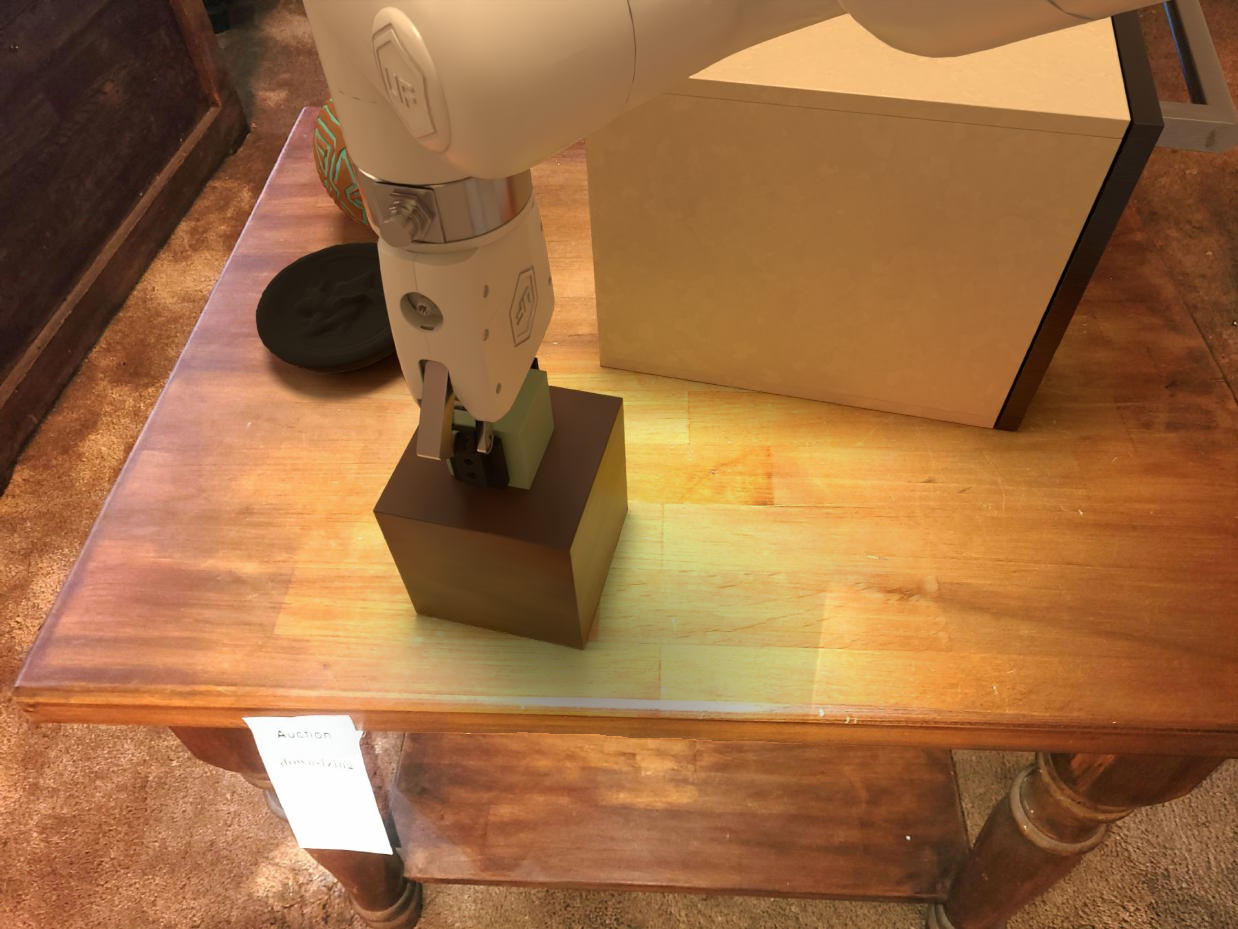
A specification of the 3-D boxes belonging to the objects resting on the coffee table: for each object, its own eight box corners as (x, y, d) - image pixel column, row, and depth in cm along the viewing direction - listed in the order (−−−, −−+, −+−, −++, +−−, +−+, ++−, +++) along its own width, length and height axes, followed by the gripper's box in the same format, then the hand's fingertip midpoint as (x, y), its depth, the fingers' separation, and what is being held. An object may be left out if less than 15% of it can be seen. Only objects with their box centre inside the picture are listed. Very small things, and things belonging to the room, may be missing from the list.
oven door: (1069, 159, 91) (1183, -124, 72) (1099, 444, 67) (1285, 136, 47) (993, 151, 93) (1084, -129, 73) (996, 428, 69) (1134, 122, 49)
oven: (990, 152, 93) (1082, -131, 73) (992, 428, 69) (1131, 119, 49) (693, 121, 99) (703, -149, 79) (600, 366, 75) (579, 66, 55)
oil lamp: (467, 408, 72) (456, 364, 68) (243, 391, 74) (220, 348, 70) (505, 290, 81) (497, 246, 78) (304, 279, 83) (287, 235, 80)
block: (554, 427, 54) (547, 370, 51) (529, 490, 51) (519, 434, 48) (479, 414, 55) (465, 357, 51) (450, 475, 52) (433, 419, 48)
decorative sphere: (460, 275, 83) (428, 128, 71) (314, 259, 85) (260, 114, 74) (505, 185, 92) (483, 41, 81) (372, 172, 95) (332, 31, 83)
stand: (628, 508, 65) (623, 397, 56) (583, 650, 58) (569, 550, 49) (476, 479, 67) (448, 367, 58) (416, 613, 60) (371, 510, 51)
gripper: (453, 314, 33) (514, 572, 47) (580, 85, 43) (599, 353, 57) (273, 286, 34) (385, 545, 48) (439, 71, 44) (491, 336, 59)
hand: (501, 439), depth 53 cm, fingers open, 5 cm apart
